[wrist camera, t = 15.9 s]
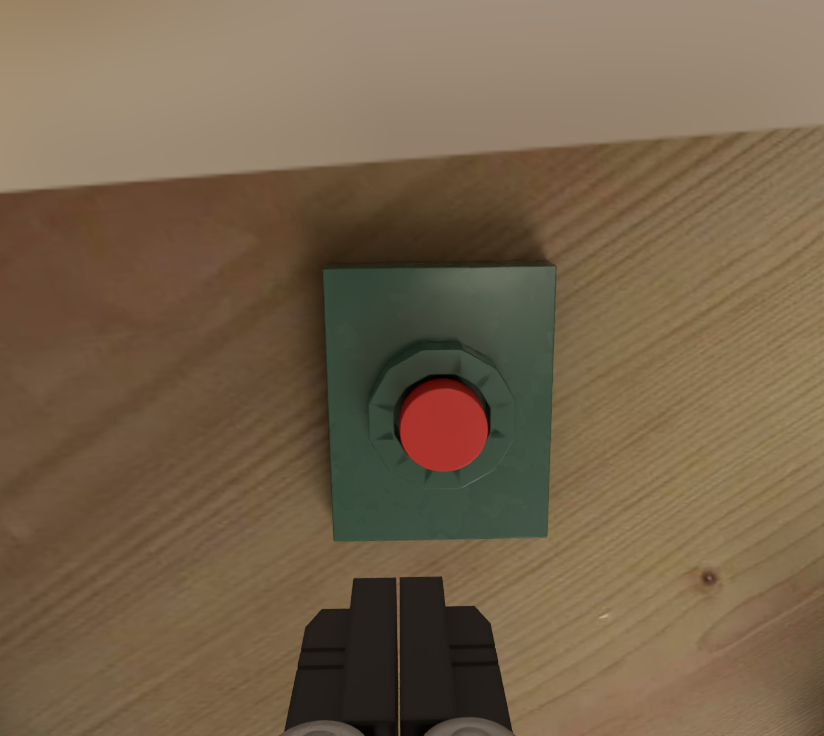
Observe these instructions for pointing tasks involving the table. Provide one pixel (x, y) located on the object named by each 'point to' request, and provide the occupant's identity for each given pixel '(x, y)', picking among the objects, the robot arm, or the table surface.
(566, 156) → the table surface
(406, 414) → the button
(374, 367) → the control box
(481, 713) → the robot arm
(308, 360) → the table surface
